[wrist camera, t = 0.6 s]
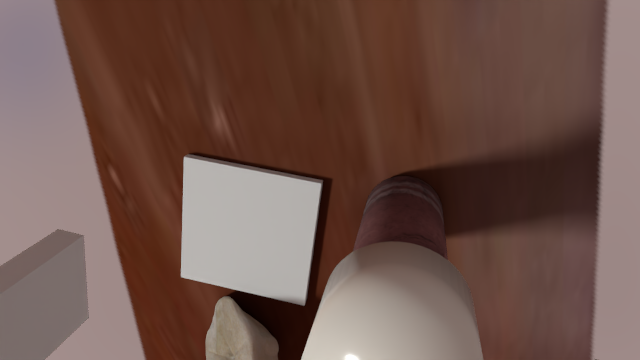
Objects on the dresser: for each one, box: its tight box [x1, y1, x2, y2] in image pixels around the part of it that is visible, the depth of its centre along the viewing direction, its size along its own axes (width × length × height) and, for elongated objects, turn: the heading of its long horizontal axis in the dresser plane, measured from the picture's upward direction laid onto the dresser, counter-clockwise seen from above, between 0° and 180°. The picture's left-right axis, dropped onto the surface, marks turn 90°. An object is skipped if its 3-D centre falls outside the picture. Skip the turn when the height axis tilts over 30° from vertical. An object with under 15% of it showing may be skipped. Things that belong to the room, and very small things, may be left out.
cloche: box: [301, 241, 483, 360], centre depth 22 cm, size 8×8×8 cm
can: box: [353, 176, 448, 260], centre depth 32 cm, size 6×6×14 cm
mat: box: [181, 154, 323, 306], centre depth 42 cm, size 12×12×1 cm
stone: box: [206, 296, 279, 360], centre depth 43 cm, size 10×7×10 cm
